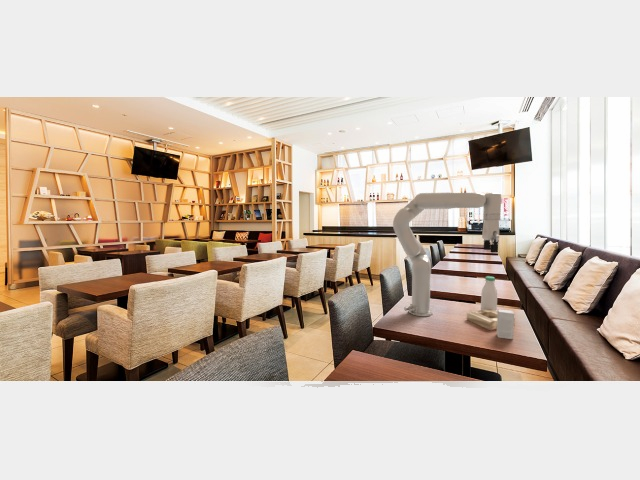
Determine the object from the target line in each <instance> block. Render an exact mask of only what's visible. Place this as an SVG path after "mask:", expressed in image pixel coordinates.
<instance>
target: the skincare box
mask: <svg viewBox="0 0 640 480" xmlns="http://www.w3.org/2000/svg"><path fill="white" fill-rule="evenodd" d="M514 318H515V313H514V311H513V310H509V309H508V310H507V309H498V308H497V329H496V336H497V338H500V339H509V340H513V339H514V328H515V327H514Z"/></svg>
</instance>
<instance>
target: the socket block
mask: <svg viewBox="0 0 640 480" xmlns="http://www.w3.org/2000/svg"><path fill="white" fill-rule="evenodd" d="M497 311H498V310H497ZM497 311H495V310H493V309H486V310H481V309H480V310H475V311H474V310H473V311H469V312H468V311H467V312H466V320H467V321H468V322H471V323H473V324H475V325H477V326H479V327H482V328H484V329H486V330H489V331H491V330H497ZM515 324H516V317H514V326H515Z"/></svg>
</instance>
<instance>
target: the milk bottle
mask: <svg viewBox="0 0 640 480" xmlns="http://www.w3.org/2000/svg"><path fill="white" fill-rule="evenodd" d="M495 280H496V277H494V276H490V275H487V276H485V280H484V281H485V282H484V285H483V287H482V289H481V294H480V295H481V297H480V298H481V299H480V310H486V309H493V310H495V311H498V307H497V306H498V289H497V287H496V285H495Z"/></svg>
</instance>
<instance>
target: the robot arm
mask: <svg viewBox="0 0 640 480" xmlns="http://www.w3.org/2000/svg"><path fill="white" fill-rule="evenodd" d="M478 208H483V214H482V216H483V217H482V220H483V225H482V235H481V238H482V239H483V250H484V251H490V253H493V254H495V253H498V252H499V240H500V221H501V213H502V212H501V211H502V209H501V208H502V194H501V193H500V192H487V193H481V192H422V193H418V194H416V196H414V197H413V199H412V200H411V201H410V202H409V203H407V204H406V205H405V206H404V207H403V208H400V209H399V210H398V211H397V212H396V214H395V216H394V218H393V222H392V226H393V227H392V228H393V232H394V233H395V235H396V238H397V239H398V241H399V244H400V245H401V247H402V249H403V251H404V253H405V254H406V255H407V256H408V257H409V259H410V262H411V263H412V269H411V270H412V272H411V273H412V278H411V304H410V303H409V306H404V308H403V310H404V311H408V312H409V314H411V315H412V316H416V317H417V316H418V317H431V316H432V315H433V310H431V306H430V305H431V275H432V263H431V260H430V257H429V255H428V254H427V252H426V251H425V250H426V249H425V248H424V247H423V244H422V243H421V241H420V240H419V239H417V238H416V236H415V235H414V232H413V231H412V229H411V227H410V222H411V221H413V220H414V219H415V218H416V217H418V215H420V214H421V213H422V212H423V211H424V210H449V209H450V210H452V209H478Z"/></svg>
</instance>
